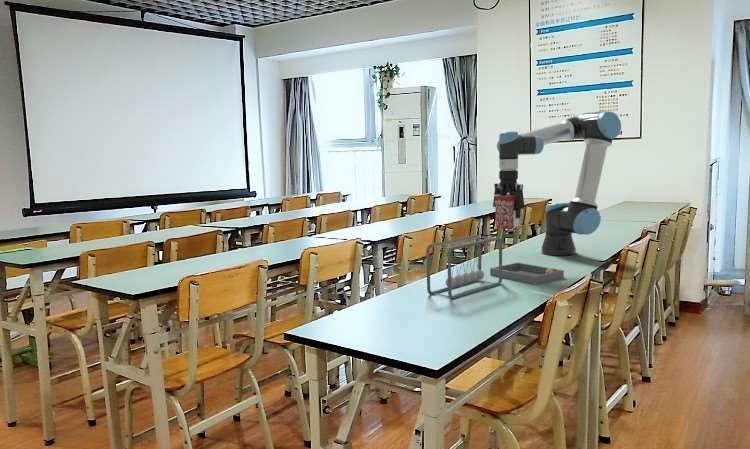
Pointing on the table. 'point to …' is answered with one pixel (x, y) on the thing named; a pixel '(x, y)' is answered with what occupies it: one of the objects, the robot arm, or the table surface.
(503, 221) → the mug
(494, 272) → the tray
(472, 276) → the newton's cradle
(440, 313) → the table surface
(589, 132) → the robot arm
